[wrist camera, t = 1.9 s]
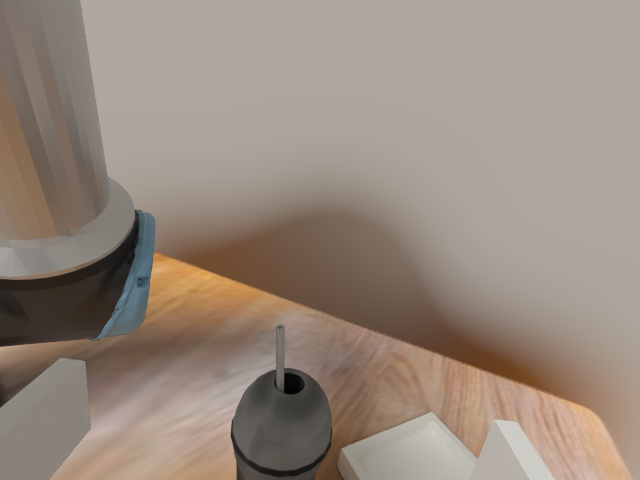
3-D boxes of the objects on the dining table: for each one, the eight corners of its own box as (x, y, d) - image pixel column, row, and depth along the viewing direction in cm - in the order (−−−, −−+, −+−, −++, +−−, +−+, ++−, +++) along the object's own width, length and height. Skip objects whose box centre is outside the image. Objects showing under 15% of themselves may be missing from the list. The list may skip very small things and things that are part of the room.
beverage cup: (321, 570, 25) (375, 358, 19) (223, 604, 23) (248, 371, 17) (296, 478, 32) (330, 295, 26) (218, 496, 29) (234, 298, 23)
